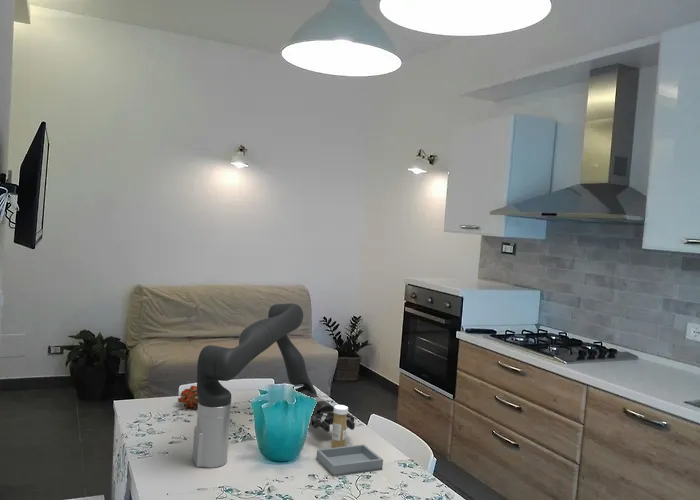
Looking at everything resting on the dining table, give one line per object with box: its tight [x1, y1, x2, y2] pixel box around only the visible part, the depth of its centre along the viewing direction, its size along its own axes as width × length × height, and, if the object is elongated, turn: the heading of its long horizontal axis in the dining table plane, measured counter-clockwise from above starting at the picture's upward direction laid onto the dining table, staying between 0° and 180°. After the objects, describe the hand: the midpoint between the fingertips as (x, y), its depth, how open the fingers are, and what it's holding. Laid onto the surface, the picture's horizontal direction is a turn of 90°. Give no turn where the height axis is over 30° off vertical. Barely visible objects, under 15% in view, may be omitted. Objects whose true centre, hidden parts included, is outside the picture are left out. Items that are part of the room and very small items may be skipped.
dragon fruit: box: [177, 385, 198, 410], centre depth 212 cm, size 8×8×12 cm
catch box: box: [315, 444, 384, 477], centre depth 172 cm, size 16×12×3 cm
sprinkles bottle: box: [330, 404, 349, 448], centre depth 184 cm, size 5×5×14 cm
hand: (341, 428), depth 183 cm, fingers open, 8 cm apart
